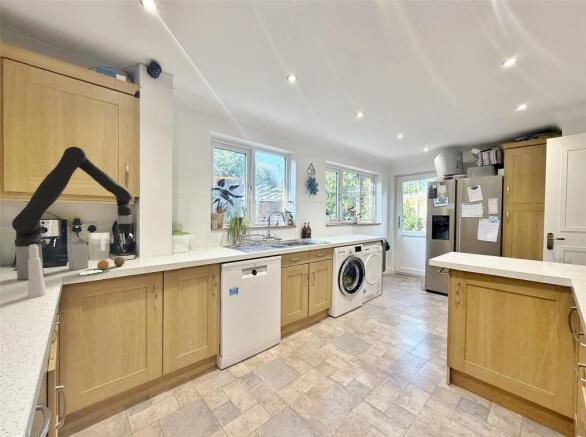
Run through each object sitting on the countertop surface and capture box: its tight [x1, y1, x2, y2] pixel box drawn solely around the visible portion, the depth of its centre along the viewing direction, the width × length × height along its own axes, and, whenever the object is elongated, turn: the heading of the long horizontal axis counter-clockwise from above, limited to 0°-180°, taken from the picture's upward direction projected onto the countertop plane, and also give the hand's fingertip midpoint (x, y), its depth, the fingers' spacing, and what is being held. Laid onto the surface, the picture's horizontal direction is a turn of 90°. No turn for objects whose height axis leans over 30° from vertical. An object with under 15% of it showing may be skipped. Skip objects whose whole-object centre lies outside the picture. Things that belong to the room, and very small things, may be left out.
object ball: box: [96, 259, 110, 270], centre depth 146 cm, size 6×6×6 cm
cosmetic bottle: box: [26, 244, 48, 299], centre depth 107 cm, size 6×6×22 cm
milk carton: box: [66, 235, 89, 271], centre depth 148 cm, size 7×7×19 cm
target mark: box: [82, 267, 111, 277], centre depth 142 cm, size 14×14×1 cm
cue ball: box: [113, 256, 126, 267], centre depth 154 cm, size 6×6×6 cm
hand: (125, 249), depth 159 cm, fingers closed
